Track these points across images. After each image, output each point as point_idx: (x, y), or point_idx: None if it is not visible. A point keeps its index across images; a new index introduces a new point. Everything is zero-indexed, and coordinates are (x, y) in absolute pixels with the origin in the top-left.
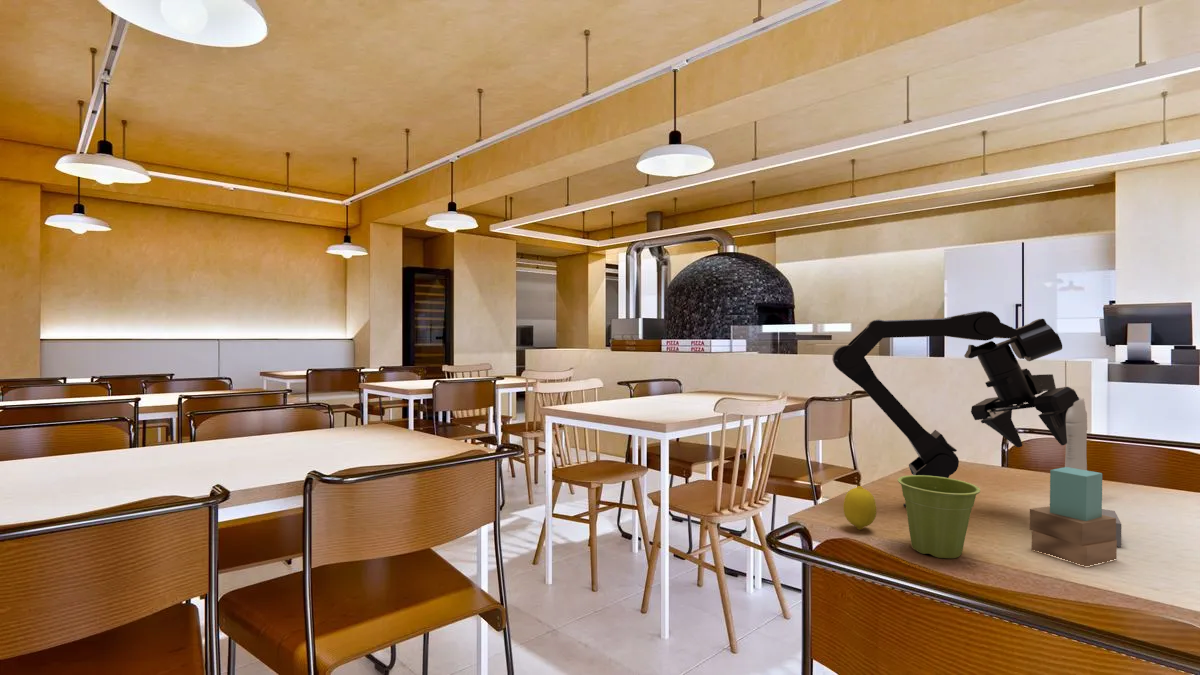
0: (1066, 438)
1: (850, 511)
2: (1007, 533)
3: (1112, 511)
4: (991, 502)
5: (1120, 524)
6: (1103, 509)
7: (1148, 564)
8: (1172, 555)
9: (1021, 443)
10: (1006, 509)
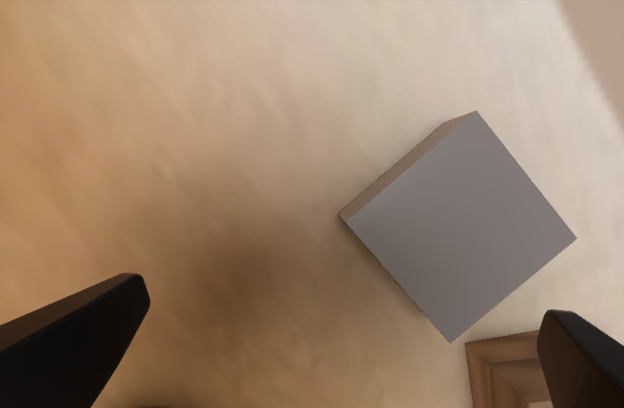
0: (613, 344)
1: None
2: (372, 404)
3: (480, 127)
4: (118, 197)
5: (573, 239)
6: (455, 132)
7: (617, 279)
8: (599, 159)
9: (128, 285)
10: (194, 218)
